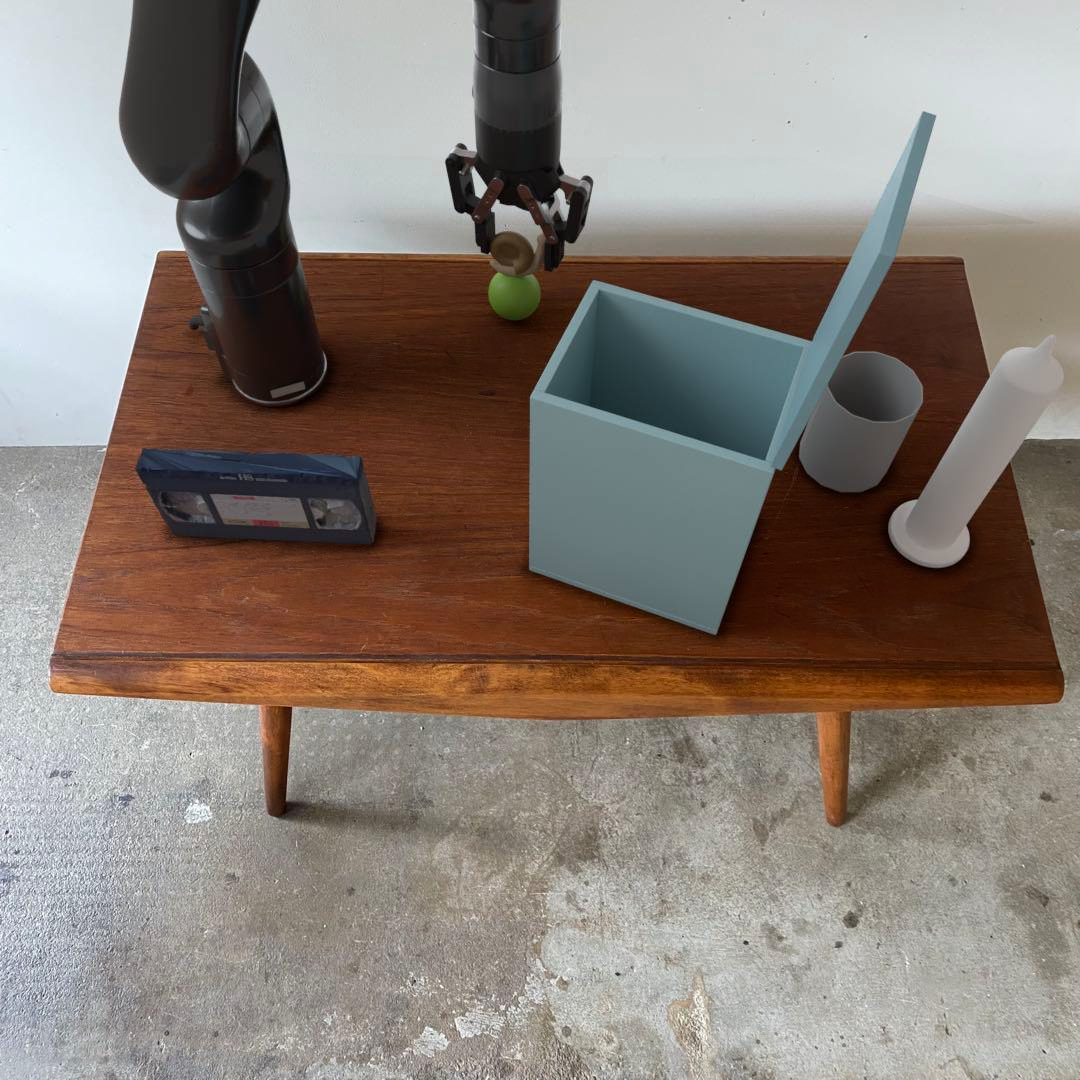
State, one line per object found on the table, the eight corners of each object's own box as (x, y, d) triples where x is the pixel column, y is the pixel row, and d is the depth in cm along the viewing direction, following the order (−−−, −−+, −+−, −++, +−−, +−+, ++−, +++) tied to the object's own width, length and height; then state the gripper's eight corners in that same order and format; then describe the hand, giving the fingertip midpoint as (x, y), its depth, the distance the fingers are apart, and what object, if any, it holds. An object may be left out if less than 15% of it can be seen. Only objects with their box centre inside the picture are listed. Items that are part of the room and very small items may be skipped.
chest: (528, 570, 85) (529, 396, 66) (579, 465, 91) (593, 279, 72) (715, 635, 81) (774, 473, 62) (754, 521, 88) (817, 342, 69)
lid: (879, 252, 47) (895, 257, 47) (922, 110, 53) (936, 115, 53) (769, 466, 62) (781, 471, 62) (814, 336, 68) (824, 340, 68)
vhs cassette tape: (170, 536, 86) (132, 468, 78) (179, 509, 88) (143, 440, 79) (373, 549, 86) (357, 483, 77) (379, 522, 87) (363, 454, 79)
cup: (896, 441, 93) (933, 369, 85) (875, 504, 89) (912, 435, 81) (812, 413, 95) (839, 340, 87) (787, 473, 91) (814, 402, 82)
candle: (952, 581, 85) (1091, 389, 64) (875, 545, 87) (987, 347, 66) (977, 525, 88) (1118, 324, 67) (903, 491, 90) (1018, 286, 69)
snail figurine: (543, 336, 100) (546, 244, 90) (483, 327, 101) (479, 234, 91) (553, 300, 103) (557, 207, 93) (495, 291, 104) (492, 198, 94)
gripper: (612, 96, 82) (600, 252, 96) (459, 59, 85) (468, 216, 99) (581, 146, 78) (573, 301, 92) (422, 105, 81) (437, 262, 95)
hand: (519, 257), depth 96 cm, fingers closed on snail figurine, 6 cm apart
